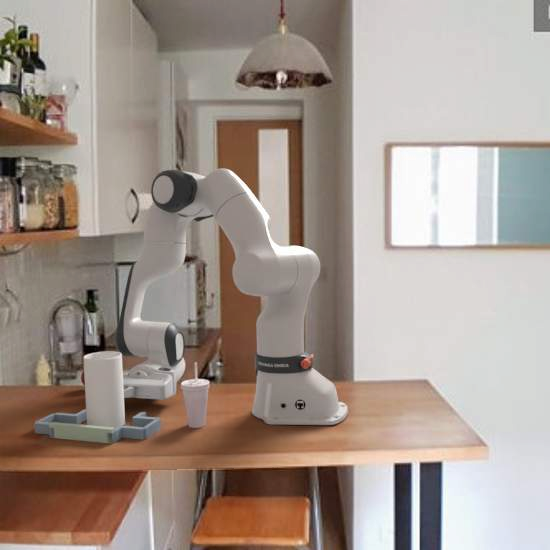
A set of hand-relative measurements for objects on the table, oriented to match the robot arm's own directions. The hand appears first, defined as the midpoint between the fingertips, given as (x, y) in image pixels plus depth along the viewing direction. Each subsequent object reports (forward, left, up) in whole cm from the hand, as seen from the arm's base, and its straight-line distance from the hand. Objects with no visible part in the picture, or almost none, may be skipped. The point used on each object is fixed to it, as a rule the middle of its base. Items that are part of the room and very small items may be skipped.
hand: (114, 396), depth 131 cm
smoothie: (-20, -1, -6) cm, 21 cm away
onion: (+20, -20, -6) cm, 29 cm away
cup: (0, +4, -6) cm, 7 cm away
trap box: (0, +6, -6) cm, 8 cm away
